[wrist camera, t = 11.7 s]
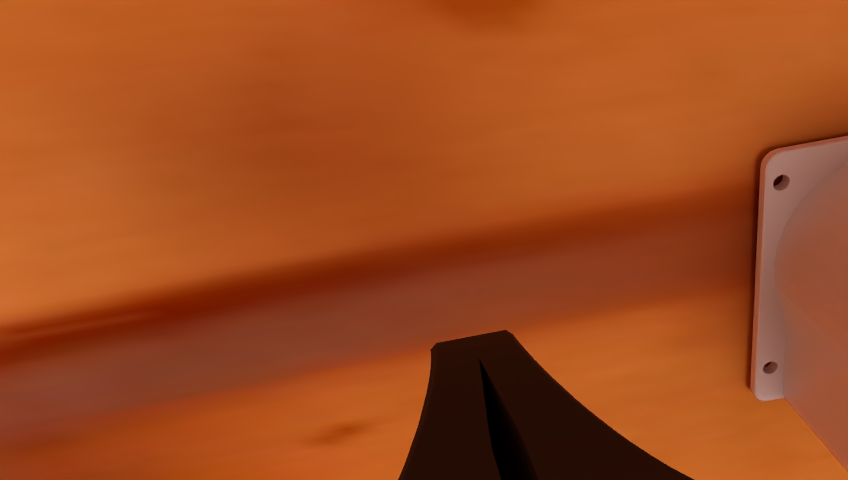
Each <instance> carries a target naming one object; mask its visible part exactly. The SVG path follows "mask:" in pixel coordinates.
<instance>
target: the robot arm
mask: <svg viewBox="0 0 848 480" xmlns="http://www.w3.org/2000/svg"><path fill="white" fill-rule="evenodd" d="M780 175H783V179H782V181H781V182H780V183H779V184H778V185H776V186H773V182H774V180H775V179H776V178H777V177H778V176H780ZM768 362H771V363H770V364H769V365H768V366H766V367H764V365H765V364H766V363H768ZM750 388H751V392H752V393H753V394H754V395H755V397H756V398H757V399H758V400H761V401H770V400H775V399H781V398H785V399H786V400H787V402H788V403H789V404H790V405H791V406H792V407H793V409H794V410H795V411H796V412H797V413H798V414H799V416H800V417H801V418H802V419H803V420H804V421H805V423H806V424H807V425H808V426H809V427H810V428H811V430H812V431H813V432H814V433H815V434H816V435H817V437H818V438H819V439H820V440H821V441H822V442H823V444H824V445H825V446H826V447H827V448H828V449H829V451H830V452H831V453H832V454H833V455H834V456H835V458H836V459H837V460H838V461H839V462H840V463H841V465H842V466H843V467H844V468H845V469H846V470H847V472H848V136H843V137H838V138H832V139H827V140H821V141H816V142H810V143H805V144H799V145H794V146H788V147H783V148H777V149H774V150H772V151H770V152H769V153H768V154H766V155H765V157H764V158H763V160H762V163H761V167H760V188H759V210H758V232H757V254H756V275H755V297H754V319H753V341H752V362H751V384H750ZM398 480H694V479H692V478H690V477H688V476H686V475H684V474H682V473H680V472H679V471H677V470H675V469H673V468H671V467H669V466H668V465H666V464H664V463H663V462H661V461H659V460H658V459H656V458H654V457H653V456H651V455H650V454H648V453H647V452H645V451H644V450H642V449H641V448H639V447H638V446H636V445H635V444H633V443H632V442H630V441H629V440H627V439H626V438H624V437H623V436H622V435H620V434H619V433H617V432H616V431H615V430H613V429H612V428H611V427H609V426H608V425H607V424H606V423H604V422H603V421H602V420H601V419H599V418H598V417H597V416H595V415H594V414H593V413H592V412H590V411H589V410H588V409H587V408H586V407H584V406H583V405H582V404H581V403H580V402H579V401H577V400H576V399H575V398H574V397H573V396H572V395H571V394H570V393H568V392H567V391H566V390H565V389H564V388H563V387H562V386H561V385H560V384H559V383H558V382H556V381H555V380H554V379H553V378H552V377H551V376H550V375H549V374H548V373H547V372H546V371H545V370H544V369H543V368H542V367H541V366H540V365H539V364H538V363H537V362H536V361H535V360H534V359H533V357H532V356H531V355H530V354H529V353H528V352H527V351H526V350H525V349H524V347H523V346H522V345H521V344H520V343H519V342H518V340H517V339H516V338H515V337H514V335H513V334H511V333H510V332H508V331H507V330H503V331H498V332H492V333H487V334H482V335H477V336H471V337H466V338H461V339H456V340H450V341H445V342H440V343H436V344H435V345H434V347H433V348H432V349H431V370H430V378H429V383H428V389H427V394H426V398H425V402H424V406H423V410H422V413H421V417H420V421H419V425H418V428H417V431H416V434H415V437H414V439H413V442H412V445H411V448H410V451H409V454H408V457H407V460H406V462H405V465H404V467H403V470H402V472H401V474H400V477H399V479H398Z"/></svg>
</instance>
